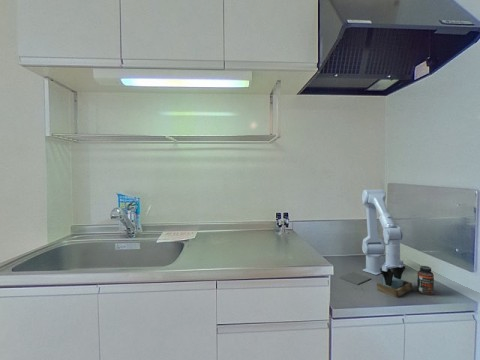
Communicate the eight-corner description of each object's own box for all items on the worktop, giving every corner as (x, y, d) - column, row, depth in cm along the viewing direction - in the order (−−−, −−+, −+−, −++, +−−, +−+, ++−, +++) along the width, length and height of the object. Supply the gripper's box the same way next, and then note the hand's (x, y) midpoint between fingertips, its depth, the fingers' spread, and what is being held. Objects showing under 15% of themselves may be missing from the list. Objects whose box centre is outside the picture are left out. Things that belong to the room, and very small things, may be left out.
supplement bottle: (421, 295, 116) (421, 269, 115) (414, 289, 121) (414, 264, 121) (436, 295, 115) (436, 269, 114) (429, 289, 121) (428, 264, 120)
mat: (353, 273, 142) (353, 271, 142) (371, 279, 133) (371, 278, 133) (339, 278, 136) (339, 277, 136) (357, 285, 127) (357, 283, 127)
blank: (387, 285, 126) (387, 275, 126) (403, 291, 120) (403, 280, 120) (383, 288, 124) (382, 277, 124) (398, 293, 118) (398, 282, 118)
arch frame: (391, 282, 128) (391, 276, 128) (411, 289, 121) (411, 283, 121) (377, 290, 122) (377, 283, 122) (397, 297, 114) (397, 290, 114)
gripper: (393, 259, 114) (393, 290, 114) (410, 252, 122) (410, 282, 122) (377, 255, 120) (377, 284, 120) (394, 249, 128) (394, 277, 128)
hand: (393, 283), depth 122 cm, fingers open, 7 cm apart
